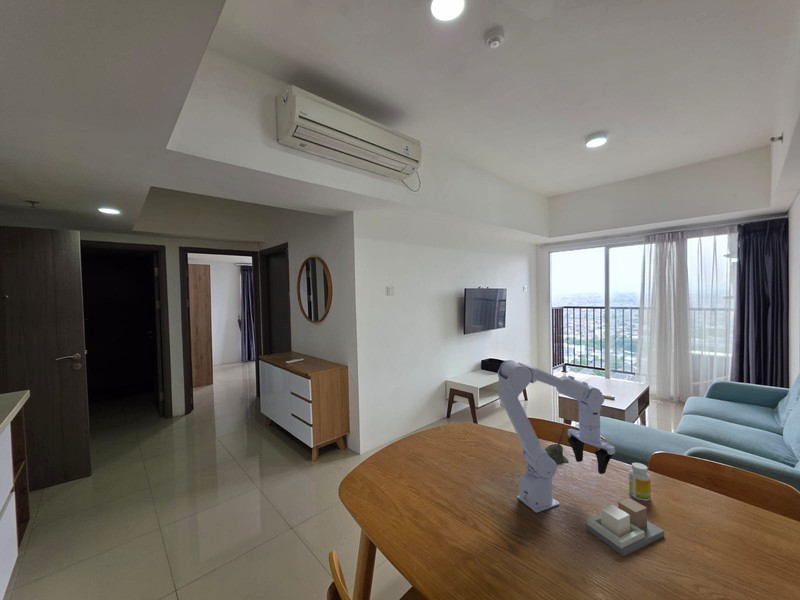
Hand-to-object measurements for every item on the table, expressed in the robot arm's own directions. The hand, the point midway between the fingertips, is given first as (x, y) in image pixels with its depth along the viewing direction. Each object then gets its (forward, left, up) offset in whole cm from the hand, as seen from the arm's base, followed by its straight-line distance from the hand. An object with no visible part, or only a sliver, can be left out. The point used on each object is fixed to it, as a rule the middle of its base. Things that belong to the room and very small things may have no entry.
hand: (590, 466), depth 99 cm
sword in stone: (+9, +22, -10) cm, 26 cm away
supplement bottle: (+14, -6, -10) cm, 18 cm away
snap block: (-9, -14, -8) cm, 19 cm away
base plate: (-6, -14, -9) cm, 18 cm away
